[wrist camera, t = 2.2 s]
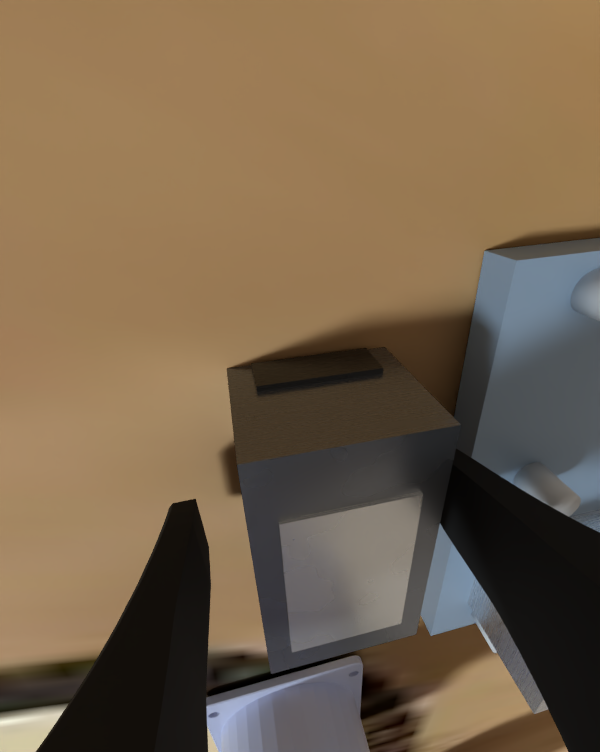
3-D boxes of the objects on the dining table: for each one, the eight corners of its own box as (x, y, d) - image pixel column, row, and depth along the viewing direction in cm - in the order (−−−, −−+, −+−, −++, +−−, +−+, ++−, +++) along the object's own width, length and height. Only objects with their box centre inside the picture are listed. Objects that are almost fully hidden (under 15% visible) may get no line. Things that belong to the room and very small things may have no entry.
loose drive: (382, 339, 11) (465, 421, 7) (368, 527, 15) (417, 637, 12) (225, 360, 10) (236, 462, 7) (255, 551, 14) (271, 677, 11)
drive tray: (607, 558, 20) (658, 608, 18) (418, 610, 19) (448, 672, 16) (802, 214, 12) (946, 227, 9) (484, 250, 10) (568, 277, 8)
